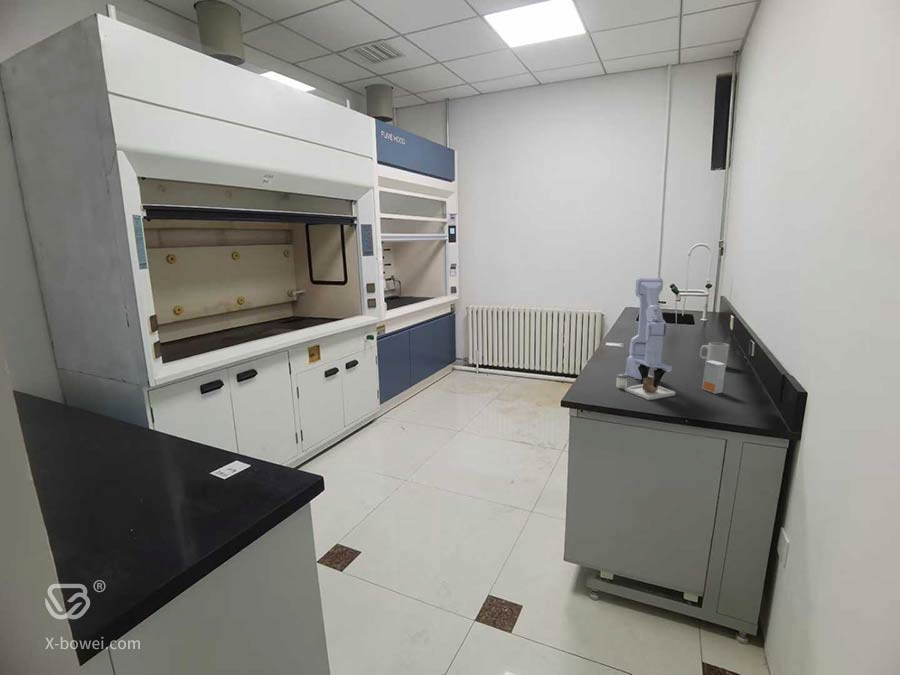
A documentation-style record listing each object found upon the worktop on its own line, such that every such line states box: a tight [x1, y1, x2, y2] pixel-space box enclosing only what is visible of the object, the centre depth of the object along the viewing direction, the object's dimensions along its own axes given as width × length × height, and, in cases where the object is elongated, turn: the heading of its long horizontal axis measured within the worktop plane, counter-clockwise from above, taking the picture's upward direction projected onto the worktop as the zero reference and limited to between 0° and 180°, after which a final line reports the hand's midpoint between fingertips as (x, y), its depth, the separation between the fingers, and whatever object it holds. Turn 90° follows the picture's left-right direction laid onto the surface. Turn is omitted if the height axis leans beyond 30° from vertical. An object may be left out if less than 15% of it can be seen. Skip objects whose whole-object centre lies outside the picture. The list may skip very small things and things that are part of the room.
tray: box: [624, 383, 676, 401], centre depth 177 cm, size 12×14×1 cm
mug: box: [699, 341, 730, 369], centre depth 214 cm, size 12×8×11 cm
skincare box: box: [701, 360, 727, 394], centre depth 178 cm, size 6×4×12 cm
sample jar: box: [615, 373, 629, 390], centre depth 184 cm, size 4×4×5 cm
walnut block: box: [642, 375, 658, 392], centre depth 176 cm, size 4×4×5 cm
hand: (650, 385), depth 176 cm, fingers closed on walnut block, 4 cm apart
